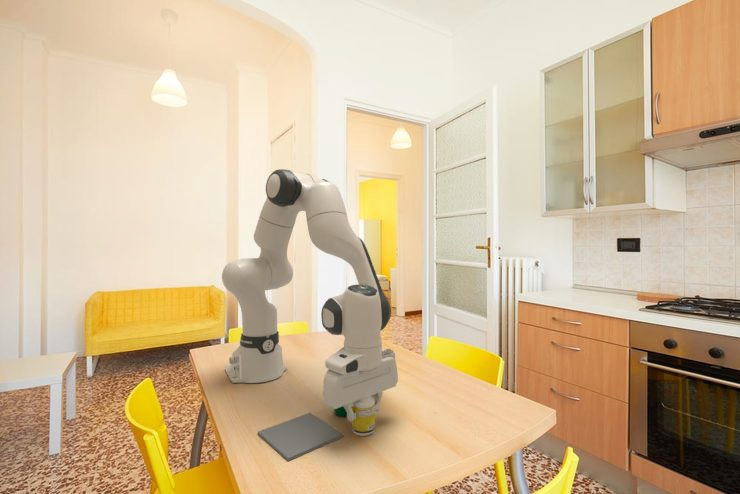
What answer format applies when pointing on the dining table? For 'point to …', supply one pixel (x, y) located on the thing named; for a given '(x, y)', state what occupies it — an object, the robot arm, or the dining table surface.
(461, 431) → the dining table surface
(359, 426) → the supplement bottle
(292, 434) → the mat
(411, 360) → the dining table surface
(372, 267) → the robot arm
